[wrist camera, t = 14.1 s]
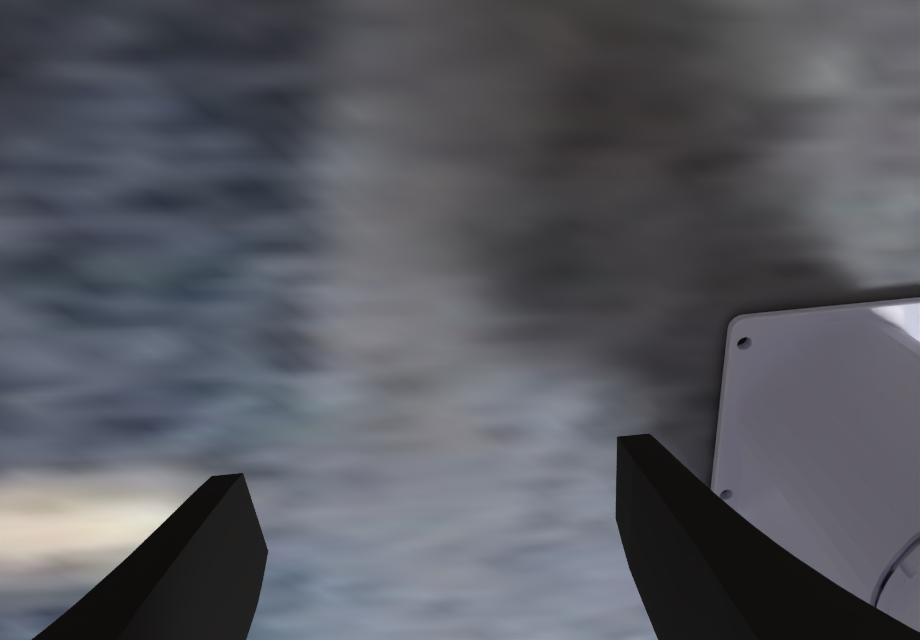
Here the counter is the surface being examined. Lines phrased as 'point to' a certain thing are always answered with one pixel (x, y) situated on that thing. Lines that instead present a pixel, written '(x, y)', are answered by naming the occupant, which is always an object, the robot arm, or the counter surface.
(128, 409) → the counter surface
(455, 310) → the counter surface
